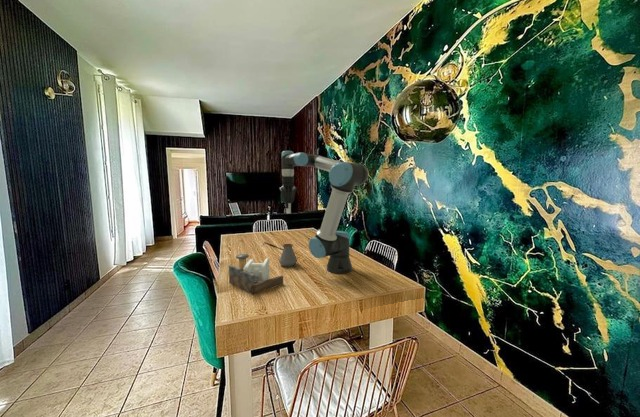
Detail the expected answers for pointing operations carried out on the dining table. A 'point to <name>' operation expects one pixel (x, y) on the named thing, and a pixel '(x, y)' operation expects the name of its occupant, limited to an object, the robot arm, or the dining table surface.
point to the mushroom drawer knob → (242, 260)
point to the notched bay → (251, 281)
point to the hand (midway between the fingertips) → (288, 213)
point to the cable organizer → (258, 269)
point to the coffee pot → (286, 255)
